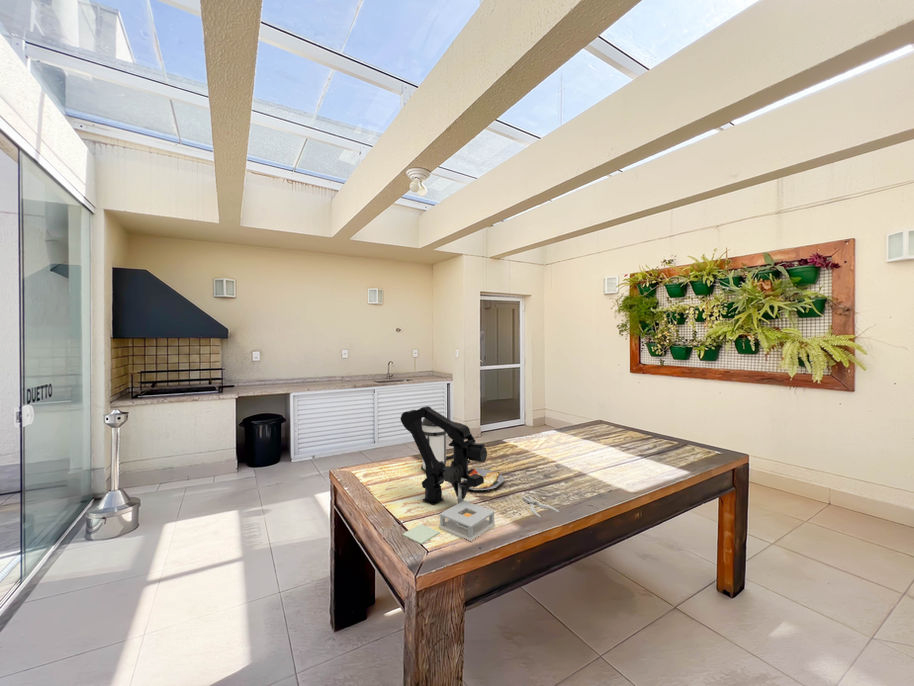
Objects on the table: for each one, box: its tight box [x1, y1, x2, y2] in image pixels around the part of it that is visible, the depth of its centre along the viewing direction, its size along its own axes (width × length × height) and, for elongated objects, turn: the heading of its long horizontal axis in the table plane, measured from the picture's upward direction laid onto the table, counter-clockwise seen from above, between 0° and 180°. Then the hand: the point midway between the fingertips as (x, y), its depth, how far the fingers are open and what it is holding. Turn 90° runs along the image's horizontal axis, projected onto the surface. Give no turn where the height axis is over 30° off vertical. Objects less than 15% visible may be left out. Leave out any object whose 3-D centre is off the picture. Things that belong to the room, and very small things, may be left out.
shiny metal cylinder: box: [457, 480, 465, 504], centre depth 144 cm, size 2×2×10 cm
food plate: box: [468, 467, 506, 491], centre depth 171 cm, size 25×23×4 cm
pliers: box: [522, 495, 560, 518], centre depth 145 cm, size 10×2×15 cm
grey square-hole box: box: [438, 500, 496, 542], centre depth 130 cm, size 14×14×5 cm
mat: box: [401, 523, 441, 545], centre depth 124 cm, size 9×9×1 cm
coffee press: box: [420, 417, 454, 470], centre depth 186 cm, size 17×16×30 cm
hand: (460, 497), depth 144 cm, fingers closed on shiny metal cylinder, 2 cm apart
